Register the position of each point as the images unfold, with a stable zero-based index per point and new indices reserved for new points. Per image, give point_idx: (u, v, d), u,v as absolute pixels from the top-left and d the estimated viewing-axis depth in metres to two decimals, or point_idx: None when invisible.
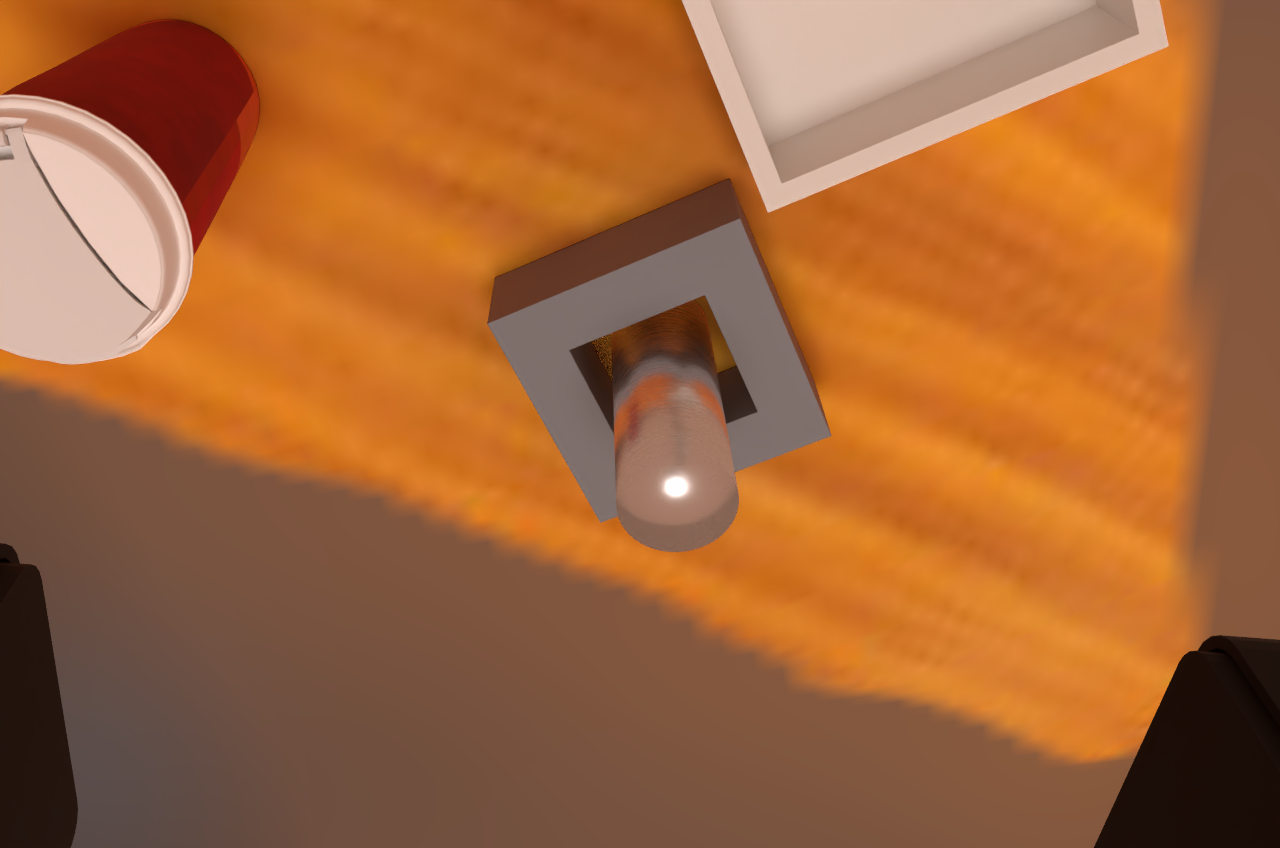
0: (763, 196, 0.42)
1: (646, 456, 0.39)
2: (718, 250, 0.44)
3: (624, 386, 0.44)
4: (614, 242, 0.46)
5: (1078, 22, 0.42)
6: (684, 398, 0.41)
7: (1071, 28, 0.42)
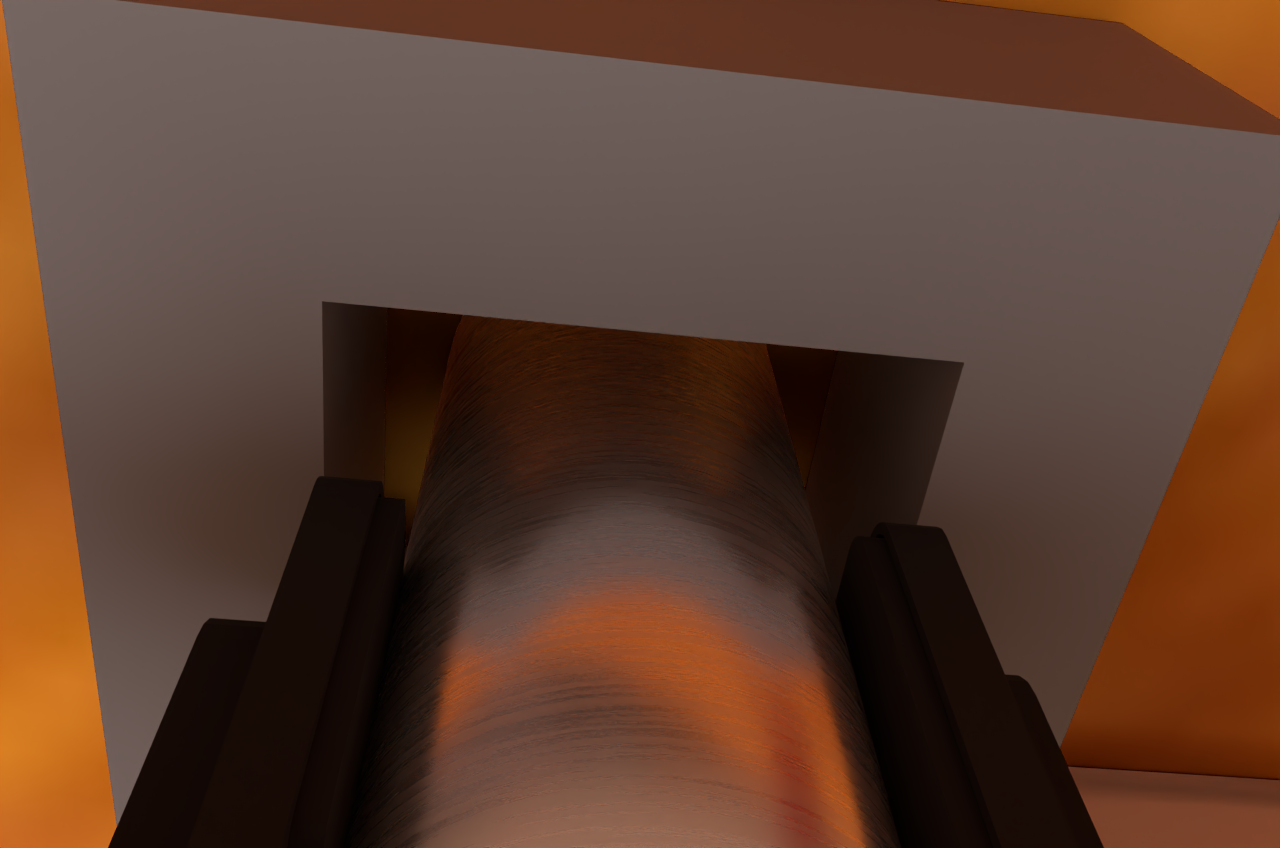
0: None
1: None
2: None
3: (858, 699, 0.09)
4: None
5: None
6: None
7: None
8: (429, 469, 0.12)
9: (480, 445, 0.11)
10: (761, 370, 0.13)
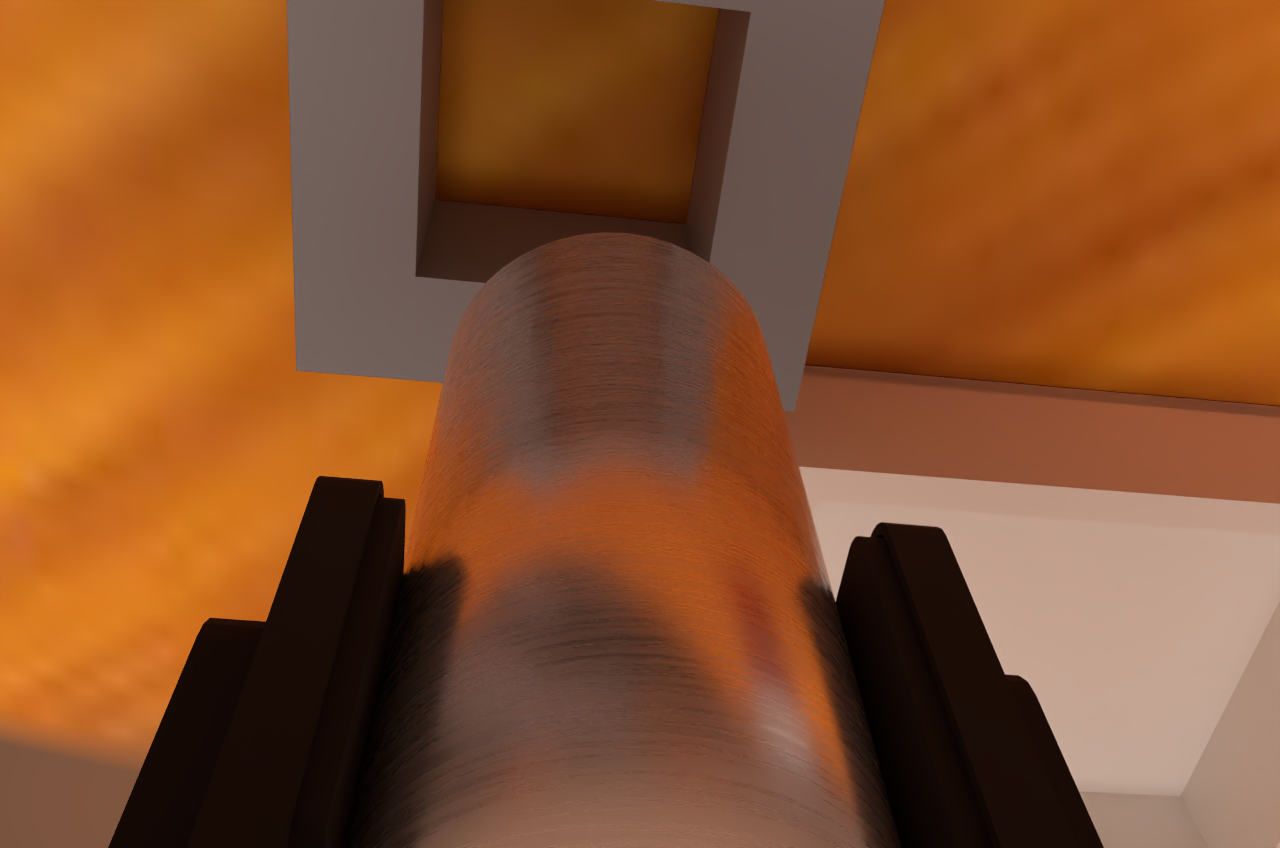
0: (818, 470, 0.25)
1: None
2: None
3: (859, 696, 0.09)
4: None
5: None
6: None
7: None
8: (429, 467, 0.12)
9: (480, 441, 0.11)
10: (761, 368, 0.13)
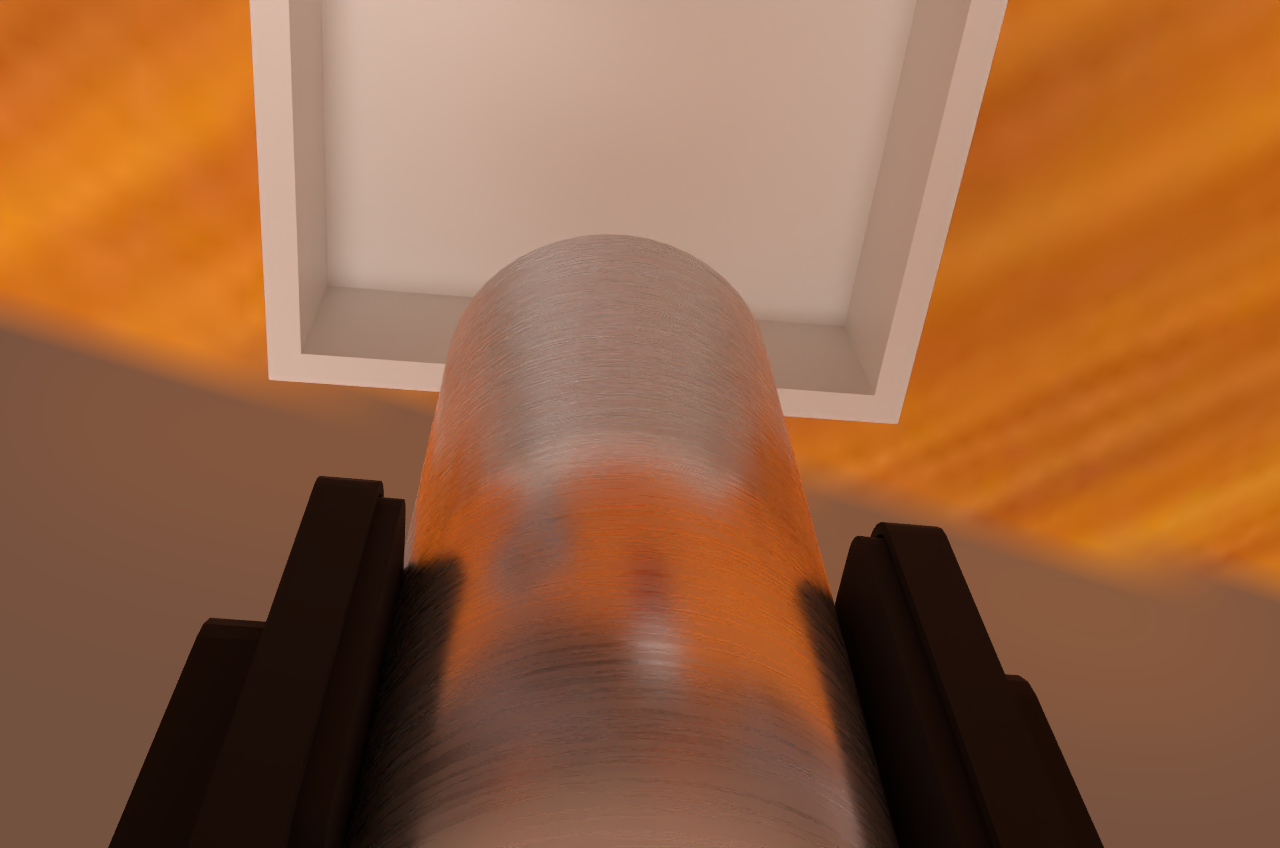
0: None
1: None
2: None
3: (859, 700, 0.09)
4: None
5: (321, 266, 0.32)
6: None
7: (319, 258, 0.31)
8: (427, 470, 0.12)
9: (477, 445, 0.11)
10: (760, 371, 0.13)
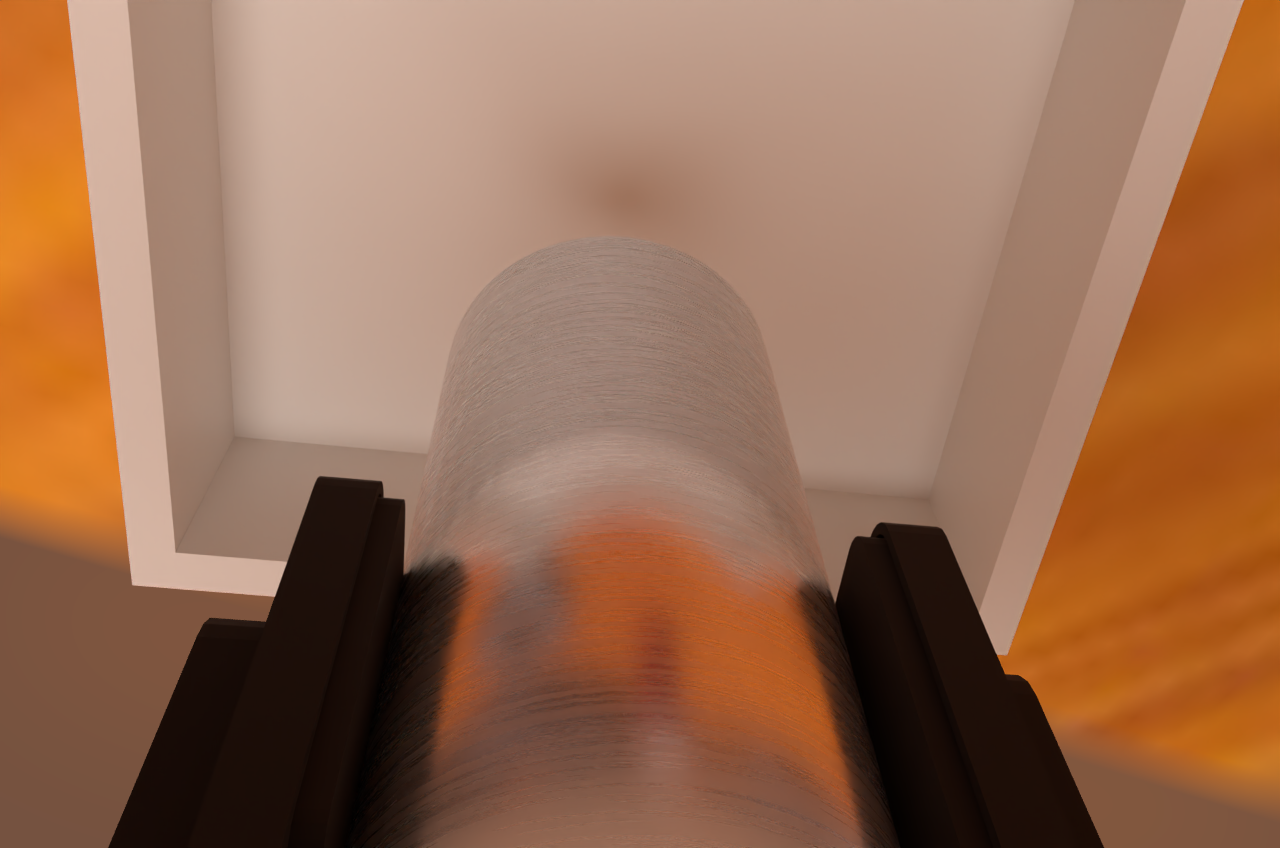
0: None
1: None
2: None
3: (860, 705, 0.09)
4: None
5: (221, 416, 0.23)
6: None
7: (216, 408, 0.23)
8: (428, 473, 0.12)
9: (479, 448, 0.11)
10: (761, 373, 0.13)
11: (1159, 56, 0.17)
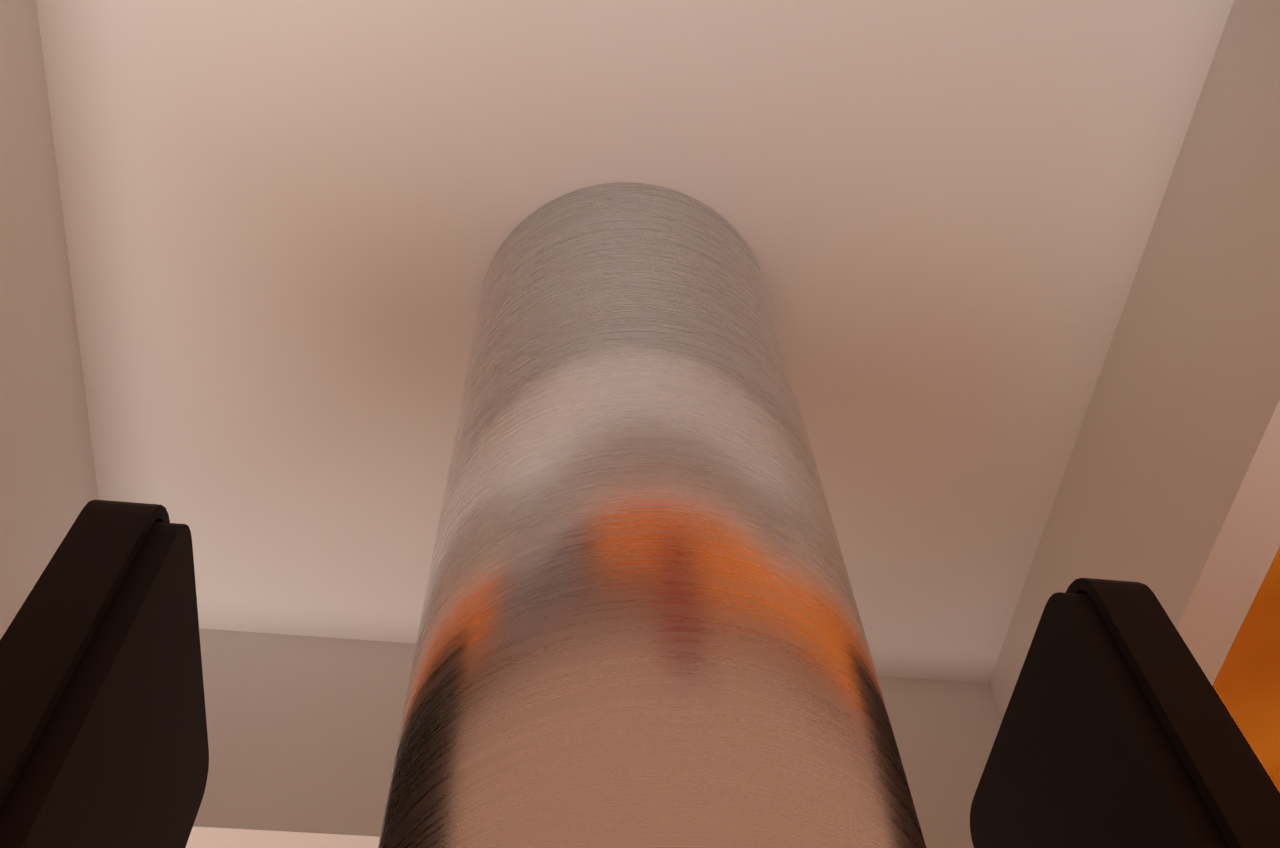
0: None
1: None
2: None
3: (840, 554, 0.11)
4: None
5: None
6: None
7: None
8: (469, 382, 0.14)
9: (515, 355, 0.13)
10: (759, 298, 0.15)
11: None
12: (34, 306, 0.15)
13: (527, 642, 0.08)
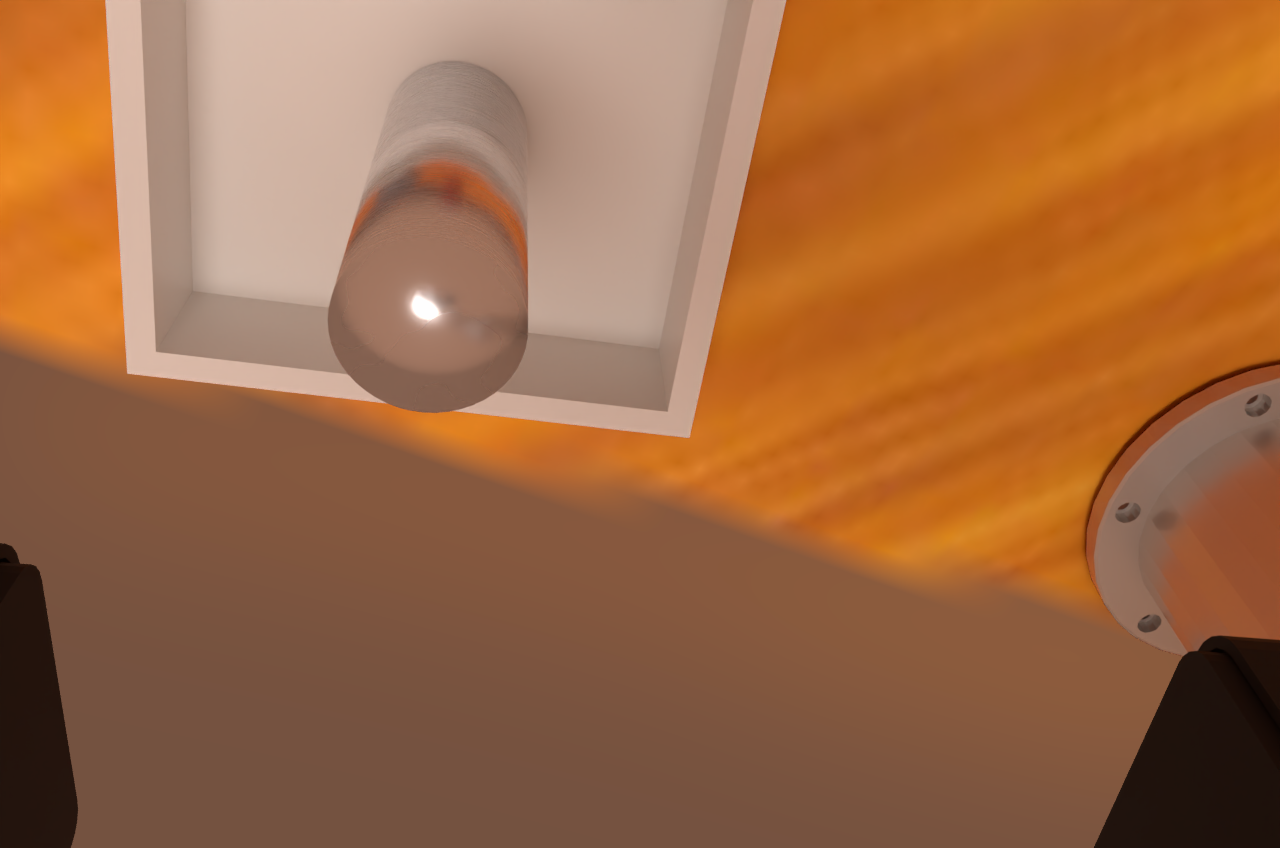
0: None
1: None
2: None
3: (520, 188, 0.29)
4: None
5: (185, 273, 0.36)
6: None
7: (182, 267, 0.35)
8: (379, 140, 0.31)
9: (397, 122, 0.30)
10: (511, 111, 0.33)
11: (738, 60, 0.30)
12: (176, 105, 0.33)
13: (394, 183, 0.26)
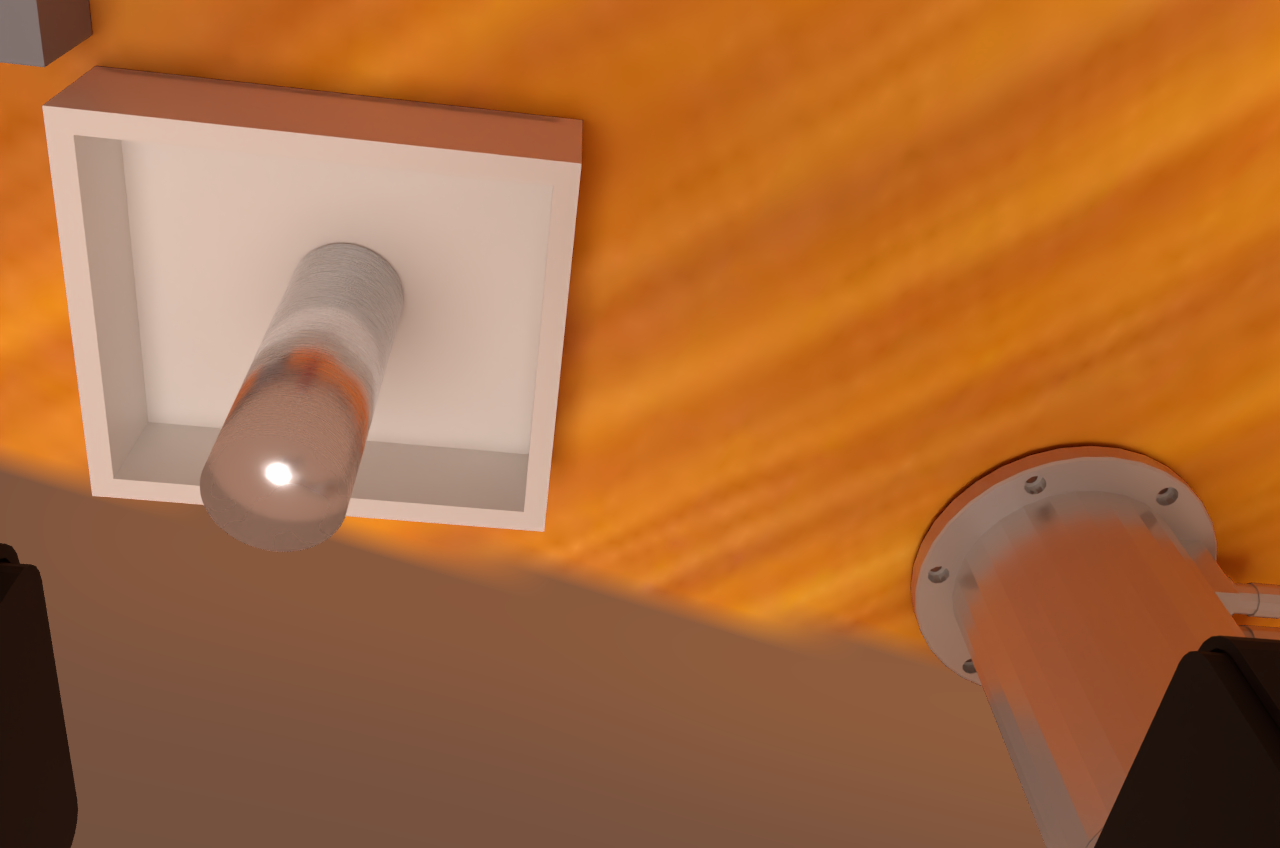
0: (64, 109, 0.36)
1: (347, 487, 0.34)
2: (9, 24, 0.35)
3: (367, 364, 0.38)
4: None
5: (139, 411, 0.45)
6: None
7: (136, 406, 0.44)
8: None
9: (280, 309, 0.39)
10: (379, 286, 0.41)
11: (547, 248, 0.39)
12: (122, 287, 0.42)
13: (256, 378, 0.35)
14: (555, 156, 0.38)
